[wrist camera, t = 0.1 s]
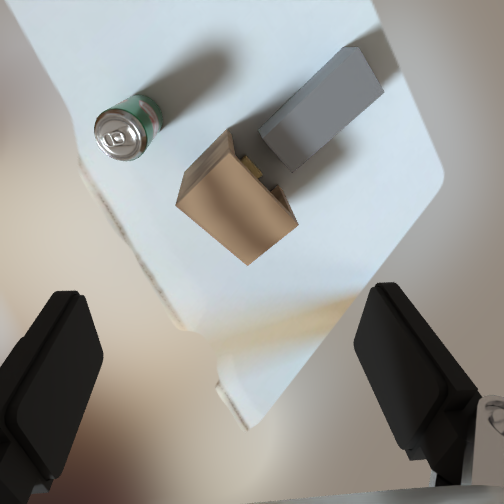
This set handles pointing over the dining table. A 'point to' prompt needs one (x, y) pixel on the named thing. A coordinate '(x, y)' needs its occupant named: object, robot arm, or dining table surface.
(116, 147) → the soda can
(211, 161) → the shelf
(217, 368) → the dining table surface
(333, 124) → the grey u-shaped piece
